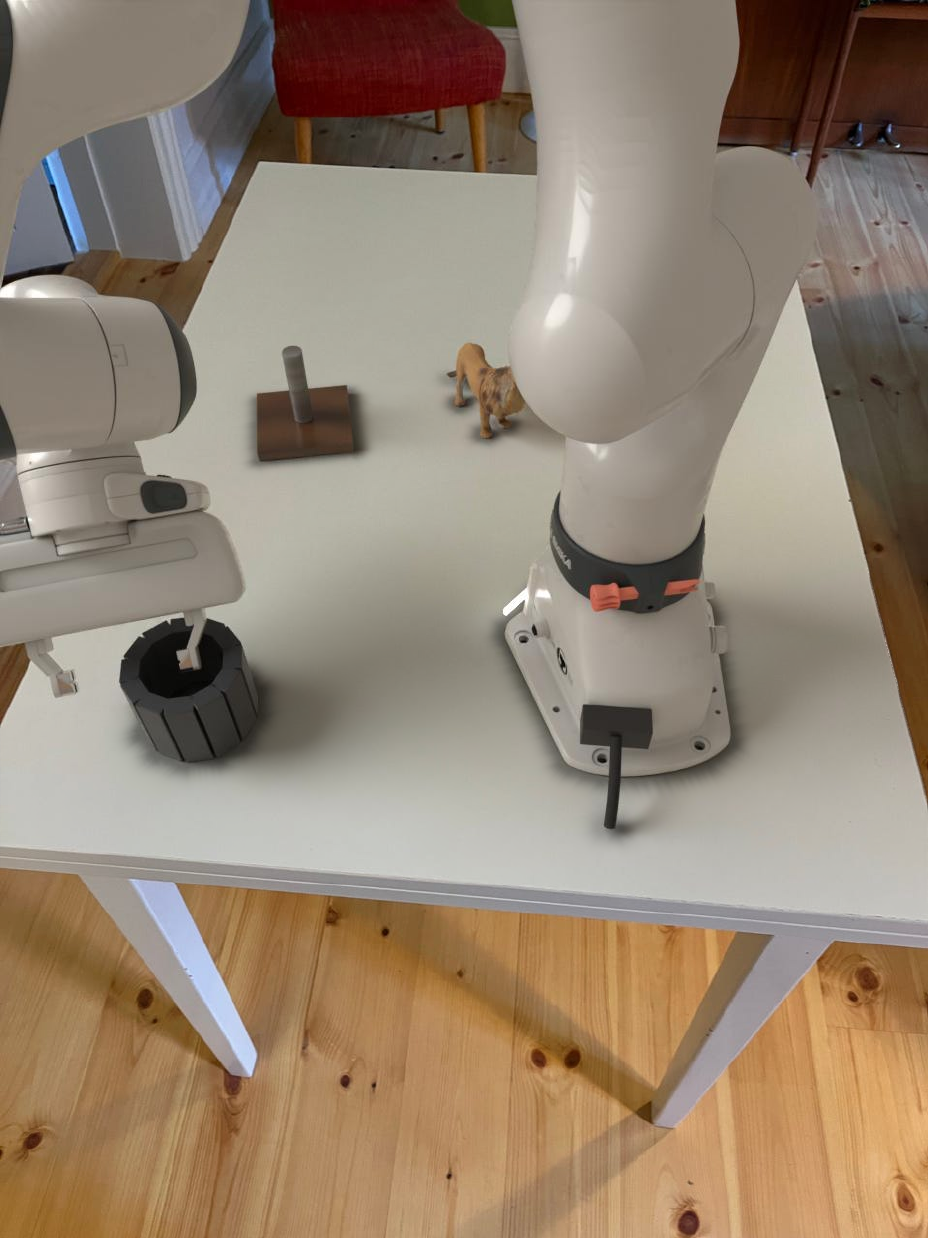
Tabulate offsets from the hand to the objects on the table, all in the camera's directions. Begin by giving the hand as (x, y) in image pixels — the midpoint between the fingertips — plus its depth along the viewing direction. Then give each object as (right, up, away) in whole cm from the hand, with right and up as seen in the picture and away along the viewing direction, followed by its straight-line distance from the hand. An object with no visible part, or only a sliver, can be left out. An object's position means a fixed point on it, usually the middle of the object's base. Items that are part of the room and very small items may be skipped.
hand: (130, 682), depth 72 cm
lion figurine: (+29, +27, +30) cm, 50 cm away
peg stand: (+9, +26, +29) cm, 40 cm away
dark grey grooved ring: (+4, -3, +6) cm, 8 cm away
